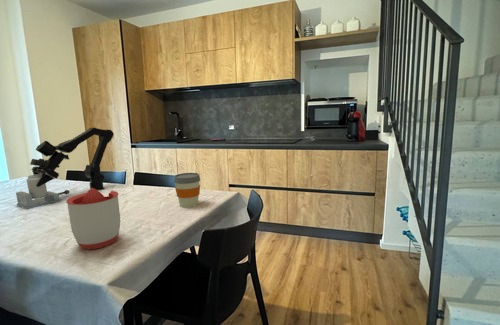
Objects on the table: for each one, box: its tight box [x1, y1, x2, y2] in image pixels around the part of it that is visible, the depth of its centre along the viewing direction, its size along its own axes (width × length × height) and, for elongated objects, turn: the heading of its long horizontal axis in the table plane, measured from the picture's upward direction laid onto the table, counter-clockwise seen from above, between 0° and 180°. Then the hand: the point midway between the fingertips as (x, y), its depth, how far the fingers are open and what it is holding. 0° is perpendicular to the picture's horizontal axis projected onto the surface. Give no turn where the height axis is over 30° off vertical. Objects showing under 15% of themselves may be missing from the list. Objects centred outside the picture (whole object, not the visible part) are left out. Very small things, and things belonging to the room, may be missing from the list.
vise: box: [15, 189, 70, 210], centre depth 145 cm, size 22×13×7 cm, turn 148°
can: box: [26, 174, 48, 200], centre depth 141 cm, size 8×8×12 cm
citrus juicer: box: [65, 188, 121, 250], centre depth 94 cm, size 16×17×20 cm
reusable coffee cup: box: [173, 172, 201, 208], centre depth 133 cm, size 13×12×15 cm
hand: (33, 185), depth 140 cm, fingers closed on can, 7 cm apart
